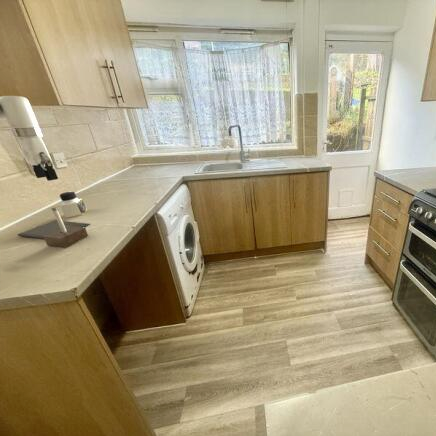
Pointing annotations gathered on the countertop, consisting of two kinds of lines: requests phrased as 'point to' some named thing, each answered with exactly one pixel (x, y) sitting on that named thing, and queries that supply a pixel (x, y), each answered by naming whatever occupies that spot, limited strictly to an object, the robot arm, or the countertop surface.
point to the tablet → (49, 229)
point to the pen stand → (65, 237)
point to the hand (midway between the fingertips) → (47, 178)
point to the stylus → (59, 219)
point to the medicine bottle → (72, 204)
